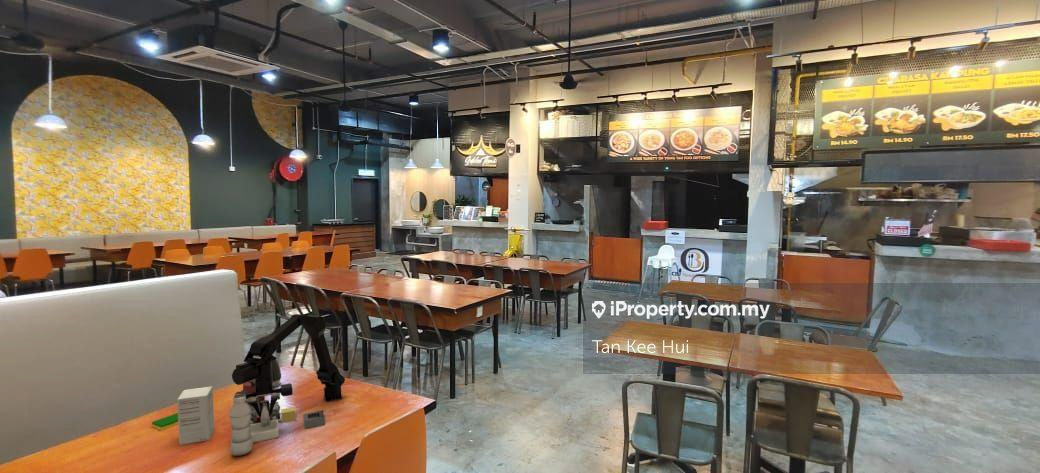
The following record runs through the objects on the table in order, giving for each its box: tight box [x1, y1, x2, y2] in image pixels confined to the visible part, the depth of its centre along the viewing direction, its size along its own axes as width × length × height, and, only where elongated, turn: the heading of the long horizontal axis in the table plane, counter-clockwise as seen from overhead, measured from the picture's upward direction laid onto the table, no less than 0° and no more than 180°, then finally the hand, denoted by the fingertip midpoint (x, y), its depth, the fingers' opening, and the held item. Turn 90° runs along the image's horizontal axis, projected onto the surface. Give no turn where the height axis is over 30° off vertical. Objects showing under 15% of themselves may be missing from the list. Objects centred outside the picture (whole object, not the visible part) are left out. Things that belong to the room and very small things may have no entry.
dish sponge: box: [151, 412, 179, 432], centre depth 184 cm, size 7×14×2 cm, turn 153°
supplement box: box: [176, 385, 215, 446], centre depth 171 cm, size 10×9×17 cm
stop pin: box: [260, 399, 270, 427], centre depth 173 cm, size 3×3×9 cm
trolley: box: [246, 399, 281, 424], centre depth 184 cm, size 12×10×10 cm
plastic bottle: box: [228, 394, 254, 457], centre depth 159 cm, size 6×7×20 cm
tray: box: [250, 419, 280, 444], centre depth 172 cm, size 12×10×3 cm
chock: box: [280, 406, 297, 424], centre depth 185 cm, size 5×4×4 cm
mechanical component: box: [241, 381, 266, 407], centre depth 195 cm, size 12×10×10 cm
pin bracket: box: [302, 409, 326, 430], centre depth 182 cm, size 7×7×3 cm
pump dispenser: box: [272, 359, 282, 388], centre depth 219 cm, size 10×10×15 cm
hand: (265, 416), depth 173 cm, fingers closed on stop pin, 3 cm apart
